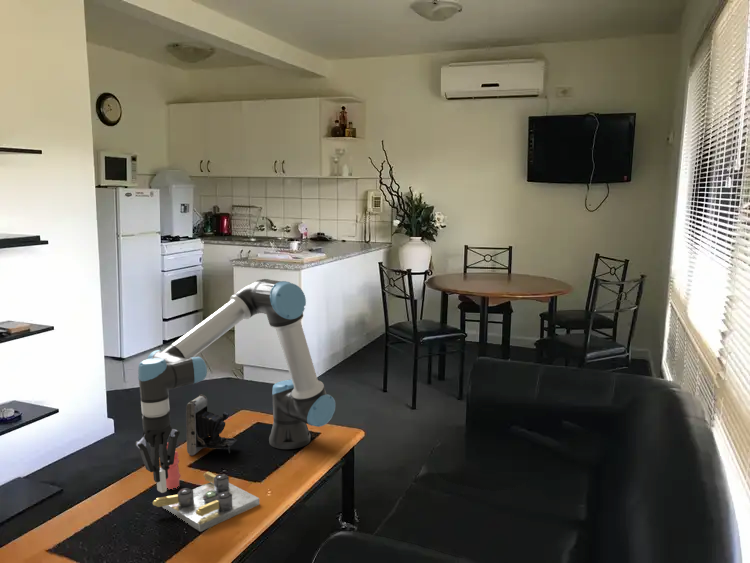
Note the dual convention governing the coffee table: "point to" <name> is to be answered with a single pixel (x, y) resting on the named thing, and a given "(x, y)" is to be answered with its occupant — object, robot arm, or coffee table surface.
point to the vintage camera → (204, 427)
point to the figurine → (173, 473)
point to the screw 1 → (176, 498)
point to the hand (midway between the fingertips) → (162, 490)
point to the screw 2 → (218, 481)
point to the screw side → (217, 504)
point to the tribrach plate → (208, 494)
